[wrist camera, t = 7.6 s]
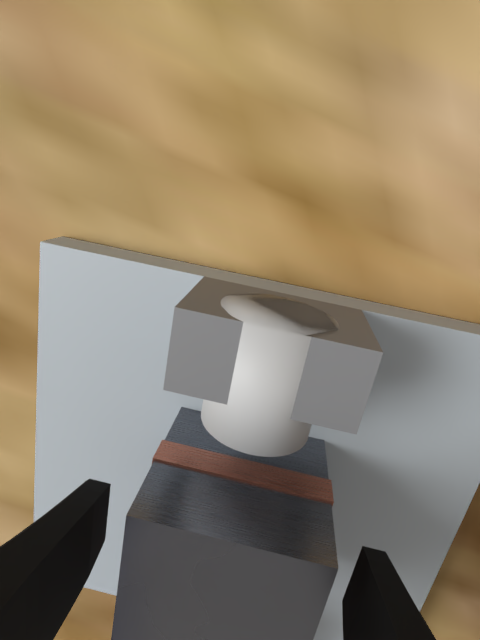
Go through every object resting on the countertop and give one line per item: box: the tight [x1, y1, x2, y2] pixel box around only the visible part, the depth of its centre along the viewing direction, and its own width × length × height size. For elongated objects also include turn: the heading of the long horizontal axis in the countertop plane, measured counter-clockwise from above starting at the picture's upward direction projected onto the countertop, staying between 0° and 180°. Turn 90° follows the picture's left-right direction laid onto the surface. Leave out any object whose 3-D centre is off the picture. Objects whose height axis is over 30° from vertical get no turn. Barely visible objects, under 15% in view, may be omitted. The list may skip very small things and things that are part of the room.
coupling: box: [111, 407, 338, 640], centre depth 12 cm, size 5×5×4 cm
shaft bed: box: [34, 236, 480, 640], centre depth 13 cm, size 13×14×4 cm
